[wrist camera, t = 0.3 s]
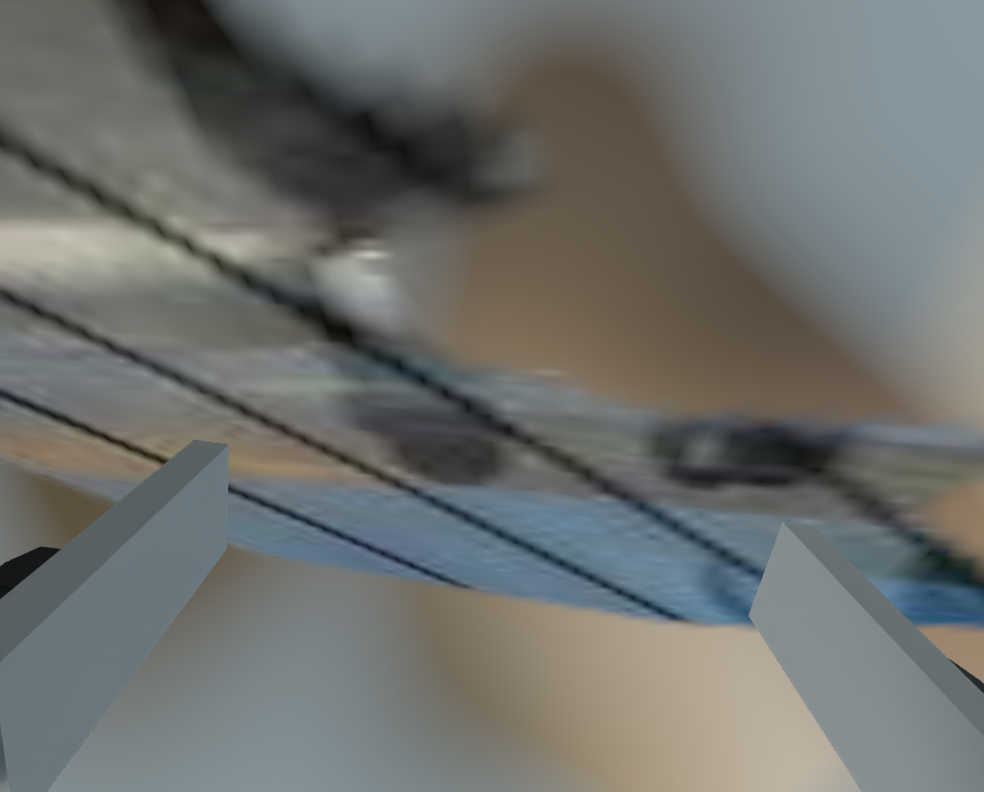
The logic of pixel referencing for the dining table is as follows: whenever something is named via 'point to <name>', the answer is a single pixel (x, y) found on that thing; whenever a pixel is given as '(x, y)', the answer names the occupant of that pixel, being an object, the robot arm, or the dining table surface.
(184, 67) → the dining table surface
